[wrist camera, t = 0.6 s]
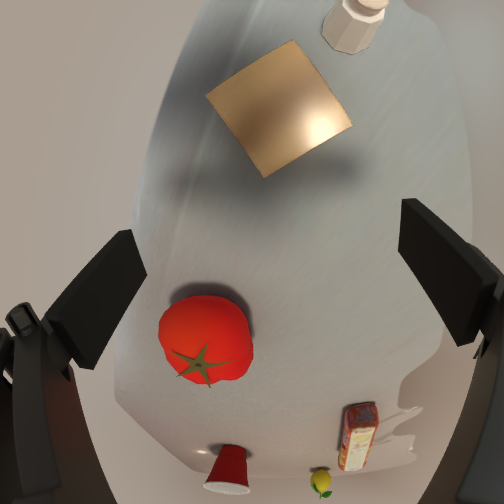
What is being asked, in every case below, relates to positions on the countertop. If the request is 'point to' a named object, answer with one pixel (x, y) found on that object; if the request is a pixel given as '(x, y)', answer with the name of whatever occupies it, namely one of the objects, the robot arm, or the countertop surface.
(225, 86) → the wood block
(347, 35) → the salt shaker
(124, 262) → the robot arm
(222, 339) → the tomato
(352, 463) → the snack package
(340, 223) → the countertop surface
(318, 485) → the lemon
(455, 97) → the countertop surface
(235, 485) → the plastic cup
